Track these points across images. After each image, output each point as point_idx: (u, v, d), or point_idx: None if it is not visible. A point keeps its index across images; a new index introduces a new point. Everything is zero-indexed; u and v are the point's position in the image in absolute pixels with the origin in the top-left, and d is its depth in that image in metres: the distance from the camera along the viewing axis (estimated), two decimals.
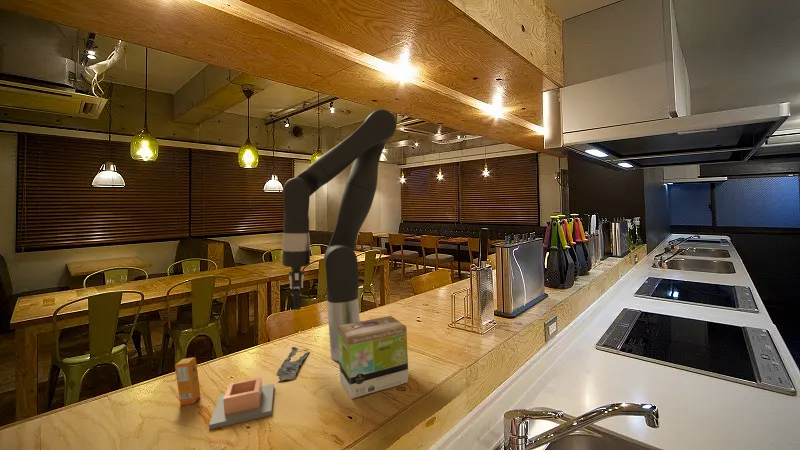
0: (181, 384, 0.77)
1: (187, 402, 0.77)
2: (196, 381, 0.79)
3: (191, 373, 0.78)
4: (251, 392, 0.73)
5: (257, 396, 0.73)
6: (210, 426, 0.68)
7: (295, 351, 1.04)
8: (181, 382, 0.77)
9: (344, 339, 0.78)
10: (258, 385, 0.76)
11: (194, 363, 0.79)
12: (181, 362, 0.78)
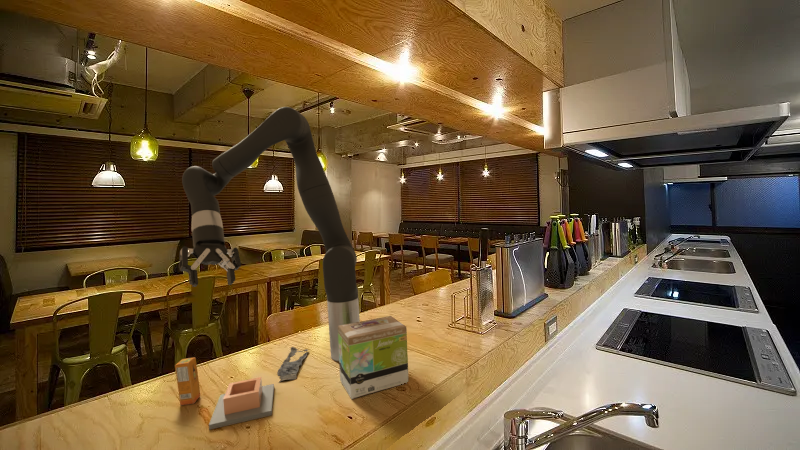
0: (181, 384, 0.77)
1: (187, 402, 0.77)
2: (196, 381, 0.79)
3: (191, 373, 0.78)
4: (251, 392, 0.73)
5: (257, 396, 0.73)
6: (210, 426, 0.68)
7: (294, 351, 1.04)
8: (181, 382, 0.77)
9: (344, 339, 0.78)
10: (258, 385, 0.76)
11: (194, 363, 0.79)
12: (181, 362, 0.78)
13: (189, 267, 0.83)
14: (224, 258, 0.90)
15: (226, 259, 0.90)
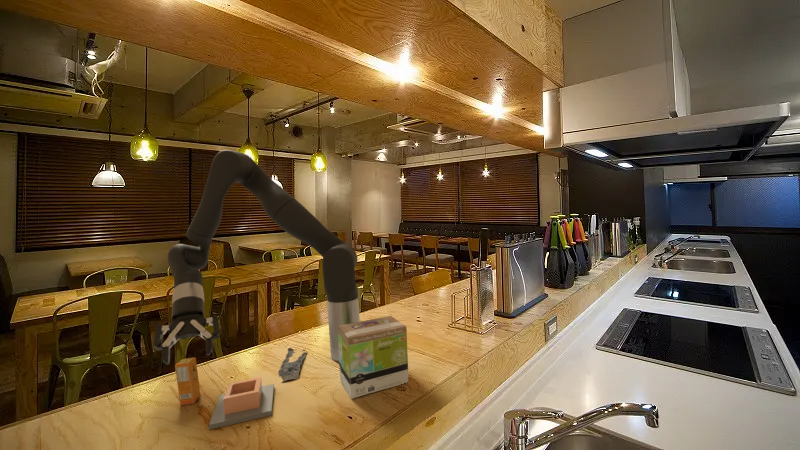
0: (181, 384, 0.77)
1: (187, 402, 0.77)
2: (196, 381, 0.79)
3: (191, 373, 0.78)
4: (251, 392, 0.73)
5: (257, 396, 0.73)
6: (210, 426, 0.68)
7: (292, 352, 1.04)
8: (181, 382, 0.77)
9: (344, 339, 0.78)
10: (258, 385, 0.76)
11: (194, 363, 0.79)
12: (181, 362, 0.78)
13: (161, 345, 0.82)
14: (199, 328, 0.86)
15: (201, 329, 0.86)
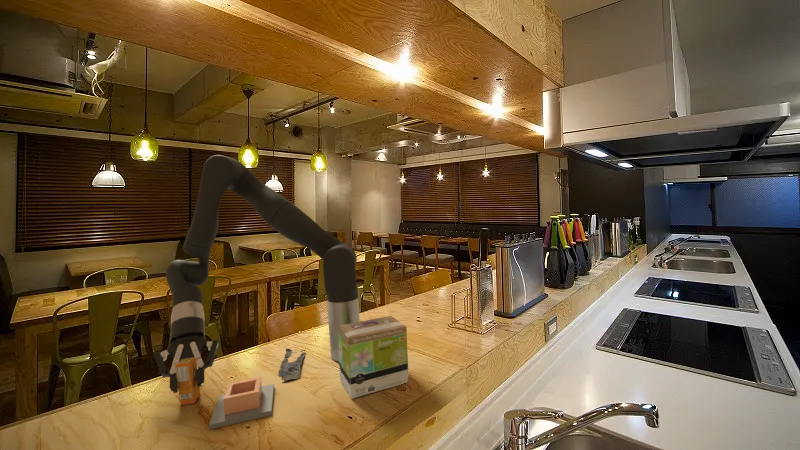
0: (181, 384, 0.77)
1: (187, 402, 0.77)
2: (196, 381, 0.79)
3: (191, 373, 0.78)
4: (251, 392, 0.73)
5: (257, 396, 0.73)
6: (210, 426, 0.68)
7: (290, 352, 1.03)
8: (181, 382, 0.77)
9: (344, 339, 0.78)
10: (258, 385, 0.76)
11: (194, 363, 0.79)
12: (181, 362, 0.78)
13: (169, 373, 0.77)
14: (195, 353, 0.81)
15: (196, 355, 0.81)
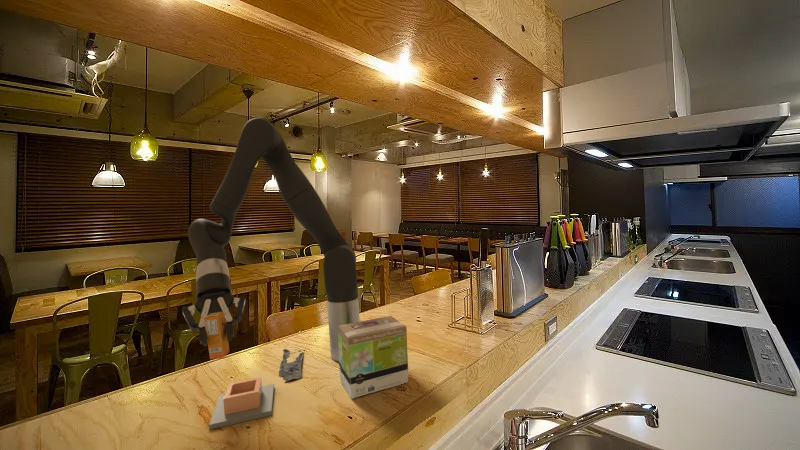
0: (210, 337, 0.75)
1: (217, 356, 0.75)
2: (225, 335, 0.77)
3: (220, 326, 0.75)
4: (251, 392, 0.73)
5: (257, 396, 0.73)
6: (210, 426, 0.68)
7: (288, 353, 1.03)
8: (211, 336, 0.75)
9: (344, 339, 0.78)
10: (258, 385, 0.76)
11: (223, 317, 0.77)
12: (210, 315, 0.75)
13: (197, 326, 0.75)
14: (223, 308, 0.79)
15: (224, 310, 0.78)
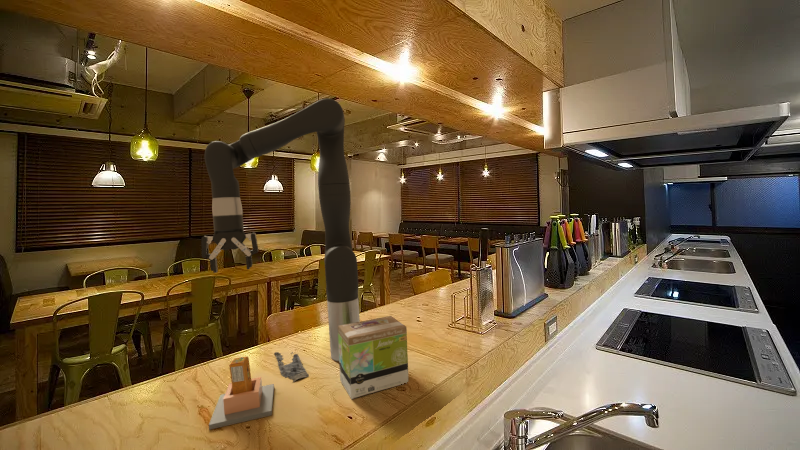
0: (236, 384, 0.73)
1: None
2: (249, 381, 0.76)
3: (245, 372, 0.74)
4: (251, 392, 0.73)
5: (257, 396, 0.73)
6: (210, 426, 0.68)
7: (280, 356, 1.01)
8: (236, 383, 0.73)
9: (344, 339, 0.78)
10: (258, 385, 0.76)
11: (247, 362, 0.76)
12: (235, 361, 0.74)
13: (208, 256, 0.92)
14: (240, 246, 0.94)
15: (241, 248, 0.94)
